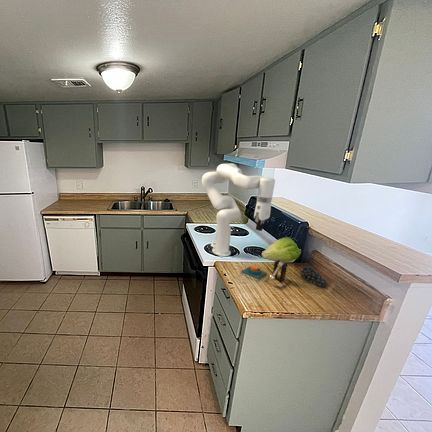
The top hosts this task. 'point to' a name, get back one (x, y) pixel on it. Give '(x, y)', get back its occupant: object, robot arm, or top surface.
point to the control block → (253, 272)
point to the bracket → (283, 271)
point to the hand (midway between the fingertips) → (258, 230)
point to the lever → (279, 266)
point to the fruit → (313, 276)
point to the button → (254, 268)
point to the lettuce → (282, 250)
